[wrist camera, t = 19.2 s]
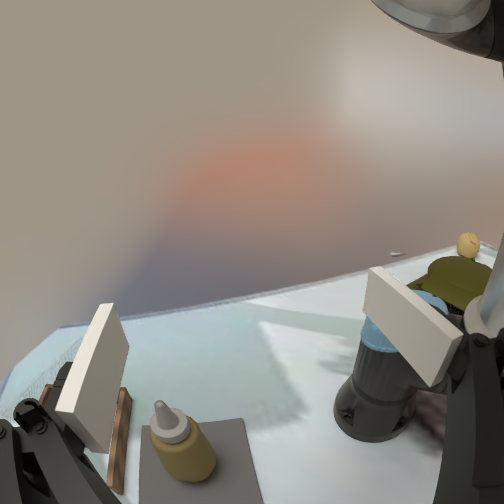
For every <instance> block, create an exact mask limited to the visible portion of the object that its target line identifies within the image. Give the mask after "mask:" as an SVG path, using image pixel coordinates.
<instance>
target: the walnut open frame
mask: <svg viewBox="0 0 504 504" xmlns="http://www.w3.org/2000/svg"><path fill="white" fill-rule="evenodd" d="M52 388H53V385H51V384H46V385H45V388H44V390H43V392H42V395H41V397H40V400H39V403H40V404H41V405H42V407H43V408H44V407H45V404H46V401H47V399H48V396H49V394H50V391H51V389H52ZM117 404H118V405H117V410H116V416H115V421H114V427H113V434H112V441H111V448H110V455H109V464H108V473H107V483H106V484H107V486H108V487H109V488H110V489H112V490H113V491H114V492H116V493H117V494H122V495H123V489H124V471H125V458H126V447H127V438H128V429H129V421H130V413H131V406H132V398H131V397H130V395H129V393H128V391H127V389H126V387H120V390H119V395H118V400H117Z"/></svg>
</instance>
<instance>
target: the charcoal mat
mask: <svg viewBox="0 0 504 504" xmlns="http://www.w3.org/2000/svg"><path fill="white" fill-rule="evenodd" d="M197 424H198V426H199V427H200V429H201V430H202V432H203V434H204V435H205V437H206V438H207V440H208V441H209V443H210V444H211V446H212V447H213V450H214V452H215V454H216V465H215V466H214V468H213V470H212V472H211V474H210V475H209V477H207V478H206V479H204V480H202V481H199V482H188V481H182V480H179V479H177V478H175V477H173V476H171V475H170V474H169V473H168V472H167V471H166V470H165V469H164V467H163V465H162V463H161V461H160V459H159V457H158V455H157V453H156V451H155V449H154V447H153V445H152V443H151V439H150V435H149V433H150V429H151V427H150V426H142V434H141V448H140V468H139V504H263V502H262V499H261V495H260V491H259V487H258V483H257V479H256V475H255V471H254V467H253V463H252V458H251V454H250V450H249V446H248V441H247V437H246V432H245V428H244V423H243V419H242V418H238V419H231V420H223V421H215V422H205V423H197Z"/></svg>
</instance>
